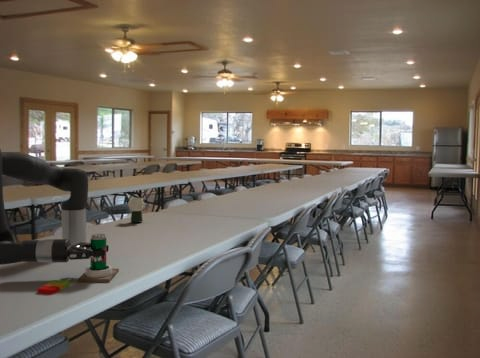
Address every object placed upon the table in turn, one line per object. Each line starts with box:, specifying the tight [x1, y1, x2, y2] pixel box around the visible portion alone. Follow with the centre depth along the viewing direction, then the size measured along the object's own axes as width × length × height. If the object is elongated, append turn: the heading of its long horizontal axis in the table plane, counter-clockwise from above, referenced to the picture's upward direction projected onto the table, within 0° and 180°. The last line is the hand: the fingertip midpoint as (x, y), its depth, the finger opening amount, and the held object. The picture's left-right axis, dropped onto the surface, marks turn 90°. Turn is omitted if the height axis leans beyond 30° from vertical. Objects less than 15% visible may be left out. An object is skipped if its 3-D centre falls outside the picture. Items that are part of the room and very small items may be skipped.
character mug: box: [127, 197, 146, 223], centre depth 250 cm, size 11×7×13 cm, turn 66°
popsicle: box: [37, 277, 74, 295], centre depth 144 cm, size 6×15×2 cm, turn 168°
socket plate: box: [77, 263, 119, 283], centre depth 154 cm, size 12×10×3 cm
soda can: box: [89, 233, 107, 270], centre depth 154 cm, size 5×5×12 cm
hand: (106, 250), depth 154 cm, fingers open, 5 cm apart
